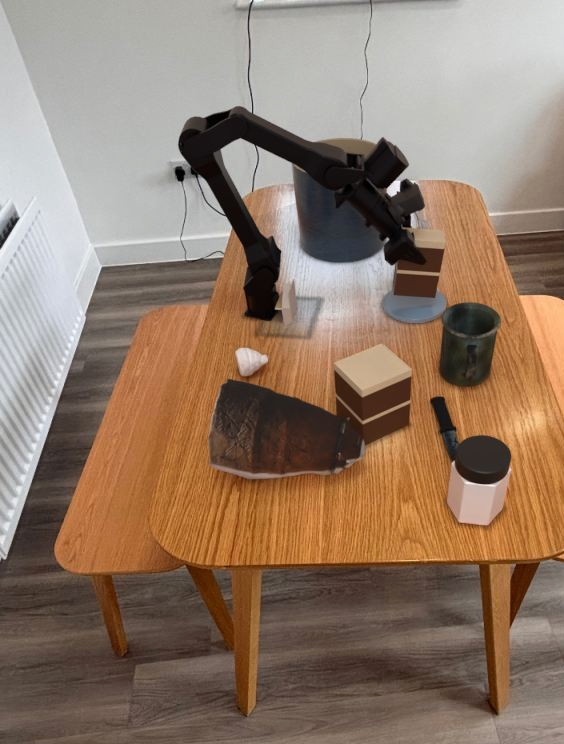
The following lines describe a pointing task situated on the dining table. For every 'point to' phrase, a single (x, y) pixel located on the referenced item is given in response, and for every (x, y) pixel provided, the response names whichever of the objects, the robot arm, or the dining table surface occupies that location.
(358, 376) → the cake
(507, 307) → the dining table surface
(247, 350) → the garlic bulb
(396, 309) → the plate
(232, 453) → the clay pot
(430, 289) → the cake slice
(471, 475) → the jar
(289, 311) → the napkin holder
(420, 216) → the fork
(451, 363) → the mug
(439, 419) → the knife
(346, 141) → the planter
